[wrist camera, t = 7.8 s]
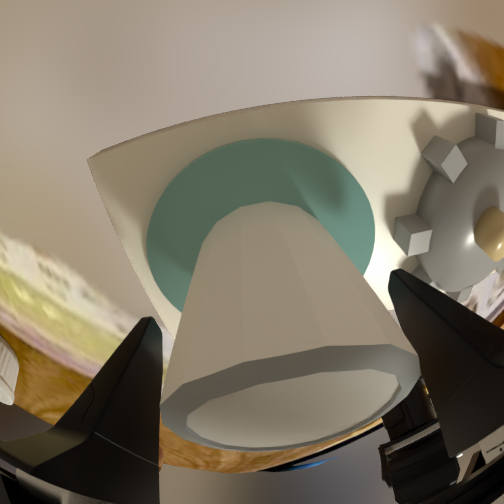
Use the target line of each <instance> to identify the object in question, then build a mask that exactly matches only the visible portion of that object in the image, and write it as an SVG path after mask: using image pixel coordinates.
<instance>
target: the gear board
mask: <svg viewBox="0 0 504 504" xmlns="http://www.w3.org/2000/svg"><path fill="white" fill-rule="evenodd" d="M87 162H88V164H89V167H90V170H91V173H92V175H93V178H94V181H95V183H96V186H97V188H98V191H99V194H100V196H101V198H102V201H103V203H104V206H105V208H106V210H107V213H108V215H109V217H110V219H111V222H112V224H113V226H114V229H115V231H116V233H117V235H118V237H119V240H120V242H121V244H122V246H123V248H124V250H125V252H126V254H127V256H128V258H129V260H130V262H131V264H132V266H133V268H134V270H135V272H136V274H137V276H138V278H139V280H140V282H141V283H142V285H143V287H144V289H145V291H146V293H147V294H148V296H149V298H150V300H151V302H152V303H153V305H154V307H155V309H156V310H157V312H158V314H159V316H160V317H161V319H162V321H163V322H164V324H165V326H166V327H167V329H168V331H169V332H170V334H171V336H172V337H173V339H174V340H175V338H176V334H177V330H178V326H179V322H180V319H181V315H182V311H183V308H184V304H185V300H186V297H187V293H188V290H189V286H190V283H191V279H192V276H193V272H194V269H195V266H196V262H197V259H198V256H199V252H200V249H201V246H202V243H203V241H204V240H205V238H206V237H207V235H208V234H209V232H210V231H211V229H212V228H213V226H214V225H215V224H216V222H217V221H219V220H220V219H222V218H224V217H225V216H227V215H228V214H230V213H231V212H233V211H235V210H236V209H238V208H239V207H242V206H247V205H252V204H257V203H262V202H268V201H272V202H278V203H283V204H289V205H294V206H298V207H300V208H301V209H303V210H304V211H306V212H307V213H309V214H310V215H312V216H313V217H314V218H316V219H317V220H319V221H320V223H321V224H322V225H323V226H324V227H325V229H326V230H327V231H328V232H329V234H330V235H331V236H332V237H333V239H334V240H335V241H336V242H337V243H338V245H339V246H340V247H341V248H342V250H343V251H344V252H345V254H346V255H347V256H348V257H349V259H350V260H351V261H352V263H353V264H354V265H355V266H356V268H357V269H358V270H359V272H360V273H361V274H362V276H363V277H364V278H365V280H366V281H367V282H368V284H369V285H370V286H371V288H372V289H373V290H374V292H375V293H376V295H377V296H378V297H379V299H380V300H381V301H382V303H383V304H384V306H385V307H386V308H387V310H388V311H389V310H393V309H394V306H393V304H392V301H391V298H390V295H389V293H388V282H389V276H390V272H391V271H392V270H395V269H399V268H401V269H403V270H405V271H407V272H408V273H410V274H412V275H414V276H415V277H417V278H419V279H421V280H422V281H424V282H426V283H427V284H429V285H431V286H432V287H434V288H436V289H437V290H439V291H441V292H442V293H444V292H446V293H447V294H448V295H449V297H451V298H452V299H454V300H455V301H457V302H459V303H461V302H464V301H466V300H468V298H469V295H470V293H471V290H472V288H473V286H474V285H476V284H477V283H479V282H480V281H482V280H483V279H485V278H486V277H487V276H488V275H490V274H493V273H495V272H497V273H498V274H500V273H501V272H502V271H503V269H504V110H502V109H497V108H493V107H488V106H482V105H477V104H471V103H464V102H457V101H450V100H441V99H431V98H417V97H397V96H396V97H395V96H356V97H334V98H320V99H309V100H300V101H291V102H283V103H276V104H269V105H263V106H257V107H251V108H245V109H240V110H235V111H230V112H225V113H221V114H216V115H212V116H208V117H203V118H199V119H196V120H191V121H188V122H184V123H180V124H177V125H173V126H170V127H167V128H163V129H160V130H157V131H154V132H151V133H148V134H145V135H141V136H139V137H136V138H133V139H130V140H127V141H124V142H122V143H119V144H117V145H114V146H111V147H109V148H106V149H104V150H101V151H100V152H98V153H97V154H95V155H94V156H92V157H91V158H89V159H88V160H87Z"/></svg>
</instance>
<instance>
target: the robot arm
mask: <svg viewBox="0 0 504 504" xmlns="http://www.w3.org/2000/svg"><path fill="white" fill-rule="evenodd" d="M388 293H389V295H390V298H391V301H392V304H393V306H394V309H395V312H396V315H397V318H398V321H399V323H400V326H401V328H402V331H403V333H404V335H405V336H406V338H407V339H408V341H409V342H410V344H411V345H412V347H413V348H414V350H415V351H416V353H417V354H418V357H419V364H420V372H421V374H422V376H420V377H419V379H418V380H417V382H416V383H415V385H414V387H413V388H412V390H411V391H410V393H409V394H408V396H406V397H405V398H404V399H403V400H402V401H401V402H399V403H398V404H397V405H396V406H395V407H393V408H392V409H391V410H390V411H388V412H387V413H386V414H385V415H383V416H381V417H382V420H383V423H384V426H385V429H386V430H387V432H388V435H389V438H390V442H388V443H386V444H381V445H380V447H379V448H378V449H379V453H380V457H381V464H382V465H381V469H382V480H383V481H385V482H386V483H387V485H388V487H389V488H390V489H393V491H394V495H395V500H396V502H397V503H399V504H504V330H503V329H501V328H500V327H498V326H496V325H494V324H492V323H491V322H489V321H487V320H486V319H484V318H482V317H481V316H479V315H478V314H476V313H474V312H473V311H471V310H469V309H468V308H467V307H465V306H463V305H462V304H460V303H459V302H457V301H455V300H454V299H452V298H451V297H449V296H447V295H446V294H444V293H442V292H441V291H439V290H437V289H436V288H434V287H432V286H431V285H429V284H427V283H426V282H424V281H422V280H421V279H419V278H417V277H415V276H414V275H412V274H410V273H408V272H407V271H405V270H403V269H401V268H399V269H395V270H392V271H391V272H390V276H389V282H388ZM162 376H163V352H162V331H161V329H160V328H159V326H158V324H157V323H156V321H155V319H154V318H153V317H151V316H150V317H143V318H141V319H140V321H139V322H138V323H137V324H136V325H135V327H134V328H133V329H132V330H131V332H130V333H129V334H128V335H127V337H126V338H125V339H124V340H123V341H122V343H121V344H120V345H119V346H118V348H117V349H116V350H115V352H114V353H113V354H112V355H111V357H110V358H109V359H108V360H107V362H106V363H105V364H104V366H103V367H102V368H101V369H100V371H99V372H98V373H97V375H96V376H95V377H94V378H93V380H92V382H90V384H89V385H88V386H87V388H86V389H85V390H84V391H83V393H82V394H81V395H80V397H79V398H78V399H77V400H76V401H75V402H74V404H73V405H72V406H71V407H70V408H69V409H68V410H67V412H66V413H65V414H64V415H63V416H62V417H61V418H60V420H59V421H58V422H57V423H56V424H55V425H54V426H53V427H52V428H51V429H49V430H47V431H45V432H42V433H39V434H35V435H32V436H28V437H23V438H19V439H15V440H11V441H0V458H1V459H3V460H4V461H6V462H8V463H9V464H11V465H13V466H14V467H16V468H17V472H16V474H14V473H12V472H10V471H8V470H6V469H5V468H3V467H1V466H0V504H160V500H159V466H158V465H159V426H160V406H159V405H160V401H161V389H162ZM424 385H426V387H427V390H428V393H429V395H430V398H431V400H432V403H433V406H434V409H435V411H434V409H433V406H432V404H431V401H430V399H429V396H428V394H427V392H426V389H425V387H424ZM435 412H436V413H435ZM438 426H440V428H439V429H437V430H435V431H434V432H432V433H430V434H428V435H427V436H424V437H422V438H420V439H419V440H417V441H415V442H413V443H411V444H408V445H406V446H404V447H402V448H400V449H398V450H395V451H394V449H395V448H397V447H399V446H401V445H403V444H406V443H408V442H410V441H412V440H414V439H416V438H418V437H420V436H422V435H423V434H425V433H427V432H429V431H431V430H433V429H434V428H436V427H438ZM478 442H479V445H480V448H481V449H480V450H478V451H477V452H476V453H474V454H473V456H472V458H471V461H470V464H469V466H468V468H467V470H466V473H465V475H464V477H463V479H462V481H461V482H459V483H457V479H458V476H459V473H460V467H459V464H458V460H457V458H458V457H460V456H462V455H463V454H462V452H463V451H464V450H466V449H468V448H470V447H471V446H473V445H475V444H476V443H478ZM456 483H457V484H456Z"/></svg>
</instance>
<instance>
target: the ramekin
mask: <svg viewBox="0 0 504 504" xmlns="http://www.w3.org/2000/svg"><path fill="white" fill-rule="evenodd" d="M18 371H19V364H18V360H17V357H16V355H15V353H14V351H13V350H12V348H11V347H10V345H9V344H8V343H7V342H6V341H5V340H4V339H3V338H2V336H1V335H0V402H2V403H5V404H8V405H12V404H13V402H14V398H15V397H14V390H15V385H16V380H17V375H18Z"/></svg>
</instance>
